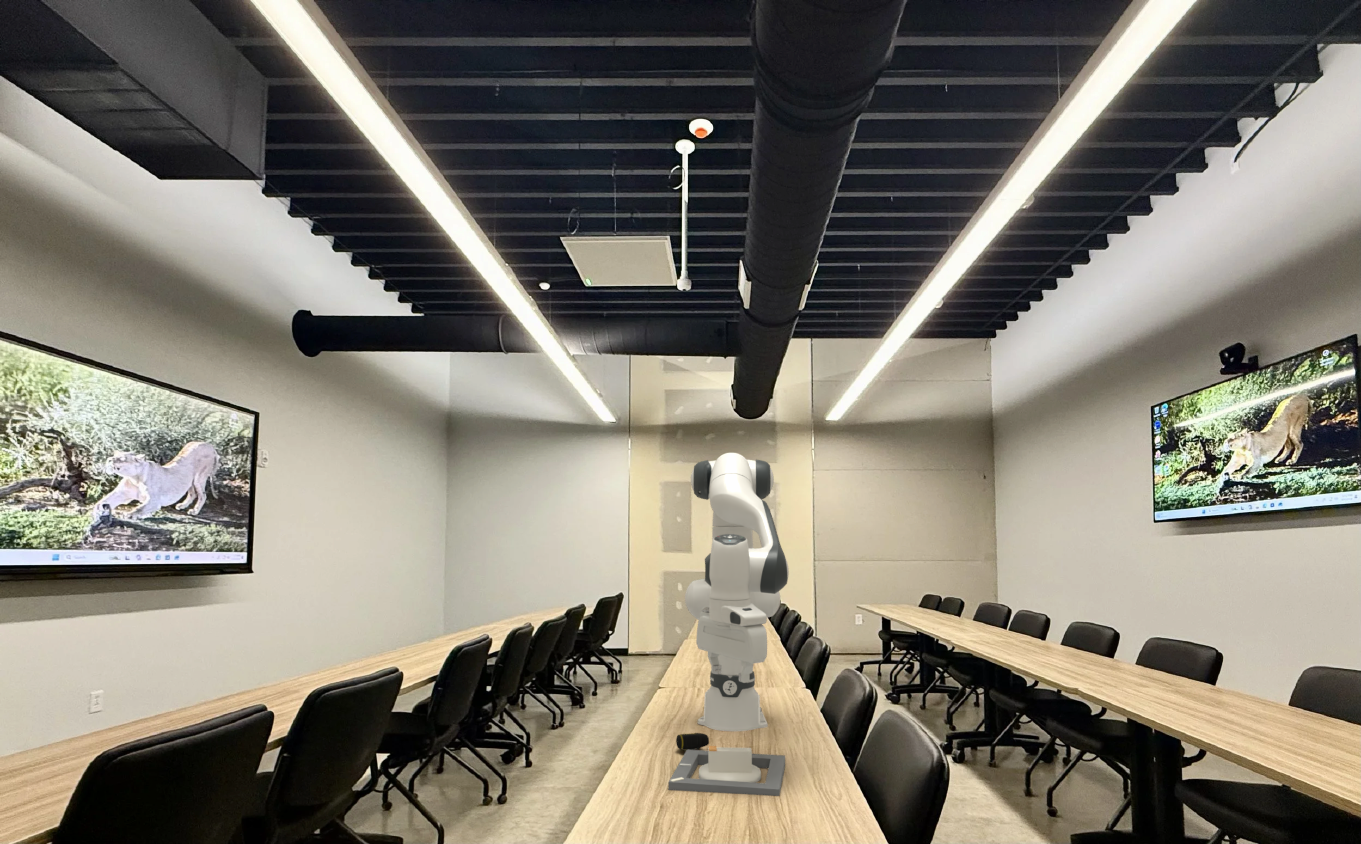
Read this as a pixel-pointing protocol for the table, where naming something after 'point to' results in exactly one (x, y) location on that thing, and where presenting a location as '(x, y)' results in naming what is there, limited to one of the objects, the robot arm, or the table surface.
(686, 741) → the tape measure
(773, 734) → the table surface
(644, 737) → the table surface
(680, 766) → the grey square frame
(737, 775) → the dial knob
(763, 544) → the robot arm
